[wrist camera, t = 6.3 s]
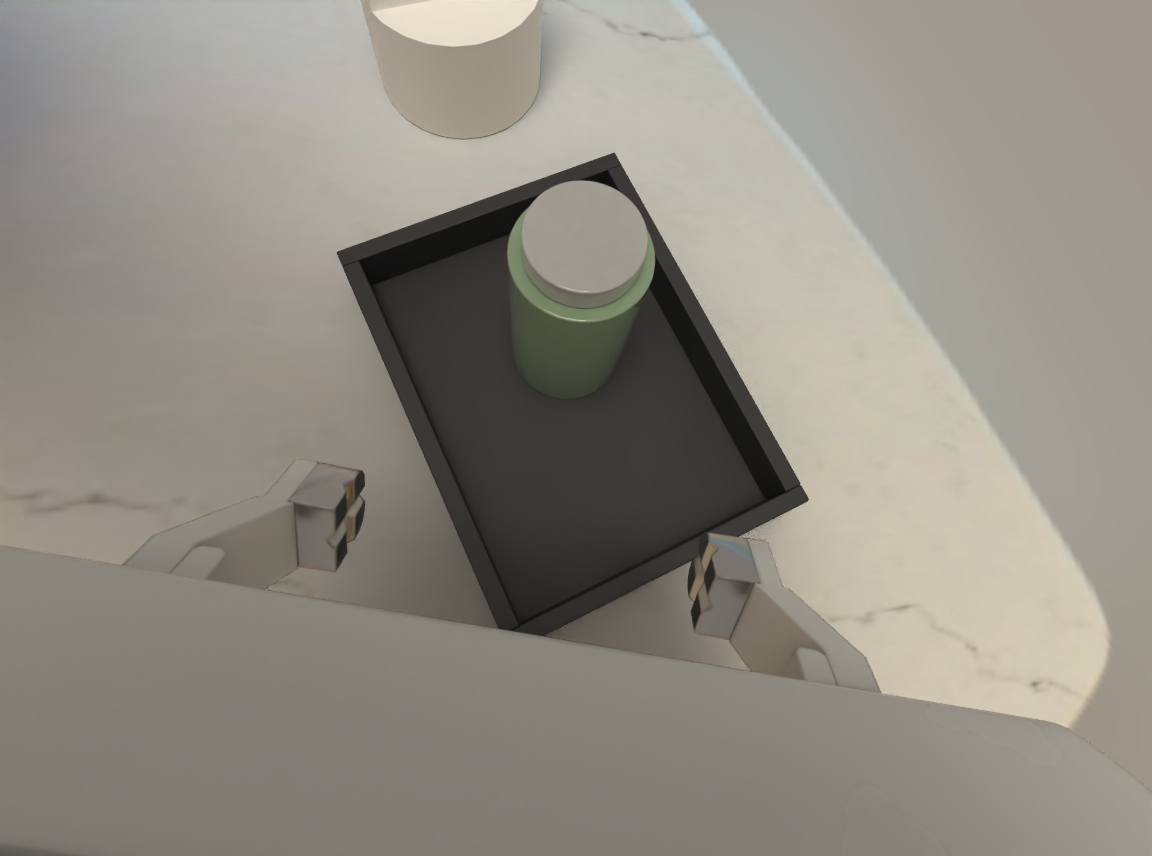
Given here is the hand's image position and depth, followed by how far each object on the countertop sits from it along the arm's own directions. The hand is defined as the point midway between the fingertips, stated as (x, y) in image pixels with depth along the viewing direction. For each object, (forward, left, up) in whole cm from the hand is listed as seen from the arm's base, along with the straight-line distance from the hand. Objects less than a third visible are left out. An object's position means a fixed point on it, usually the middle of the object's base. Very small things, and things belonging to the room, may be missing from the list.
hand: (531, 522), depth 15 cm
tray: (-6, +5, -15) cm, 17 cm away
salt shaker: (-8, +6, -14) cm, 17 cm away
